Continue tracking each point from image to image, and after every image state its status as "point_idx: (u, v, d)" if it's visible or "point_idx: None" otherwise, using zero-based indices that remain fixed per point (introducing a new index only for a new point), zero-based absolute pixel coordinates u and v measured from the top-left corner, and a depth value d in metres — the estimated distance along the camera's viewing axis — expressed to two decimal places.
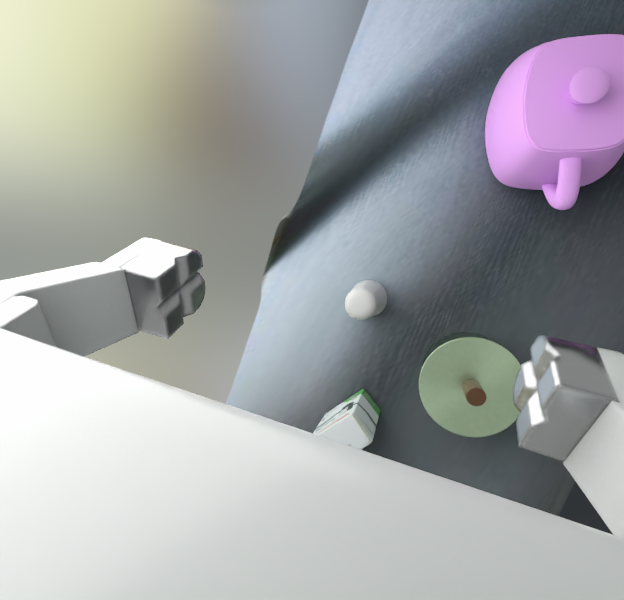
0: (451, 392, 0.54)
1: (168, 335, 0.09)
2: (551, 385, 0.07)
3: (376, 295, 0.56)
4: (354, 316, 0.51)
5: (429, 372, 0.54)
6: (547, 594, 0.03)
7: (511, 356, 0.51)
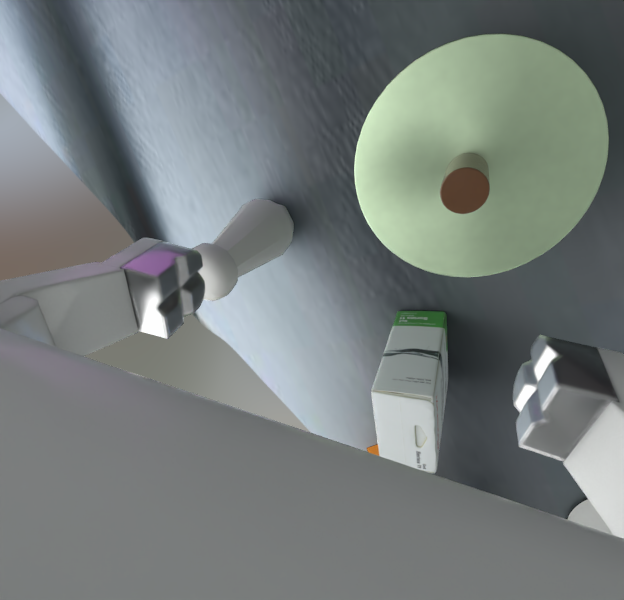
0: (451, 215, 0.25)
1: (168, 335, 0.09)
2: (551, 385, 0.07)
3: (233, 229, 0.32)
4: (216, 297, 0.29)
5: (390, 229, 0.27)
6: (547, 594, 0.03)
7: (453, 47, 0.20)
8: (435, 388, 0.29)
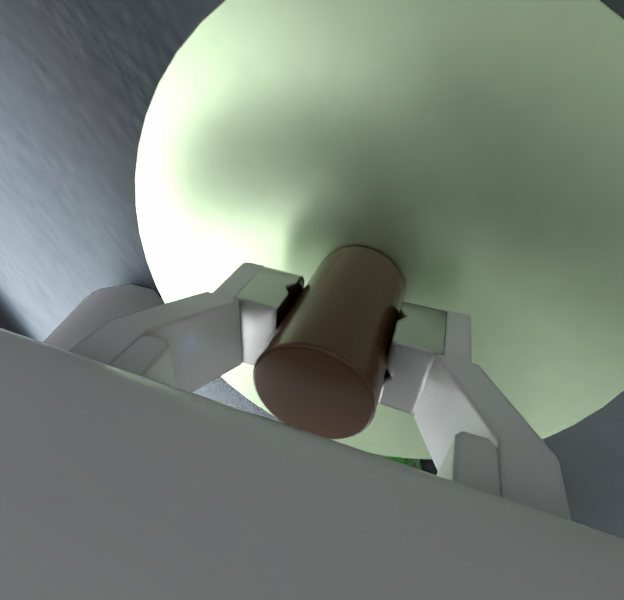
0: None
1: None
2: None
3: None
4: None
5: (251, 378, 0.14)
6: (547, 594, 0.03)
7: (248, 0, 0.08)
8: None
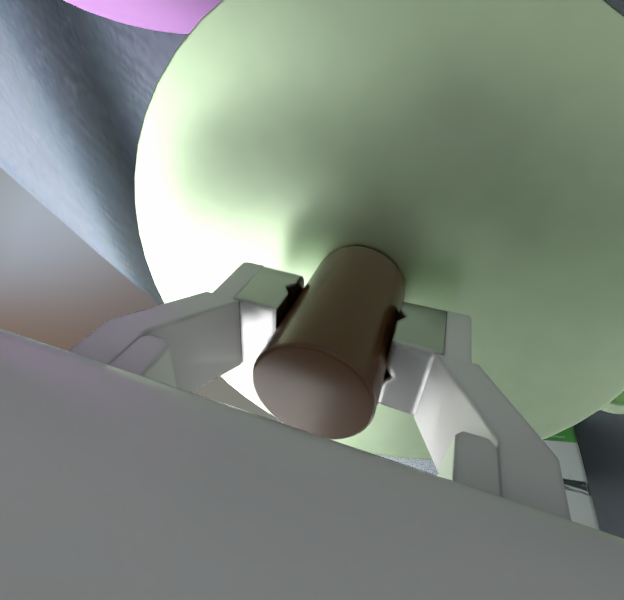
0: None
1: None
2: None
3: None
4: None
5: (251, 378, 0.14)
6: (547, 594, 0.03)
7: None
8: None
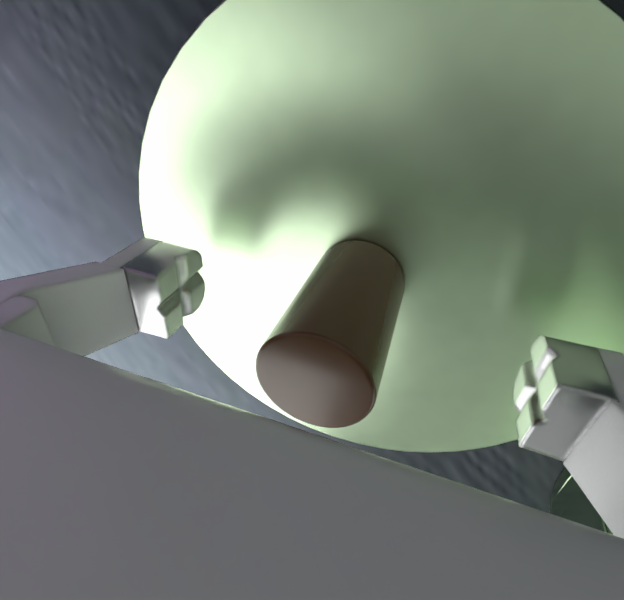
0: None
1: (168, 335, 0.09)
2: (551, 385, 0.07)
3: None
4: None
5: (253, 372, 0.14)
6: (547, 594, 0.03)
7: None
8: None
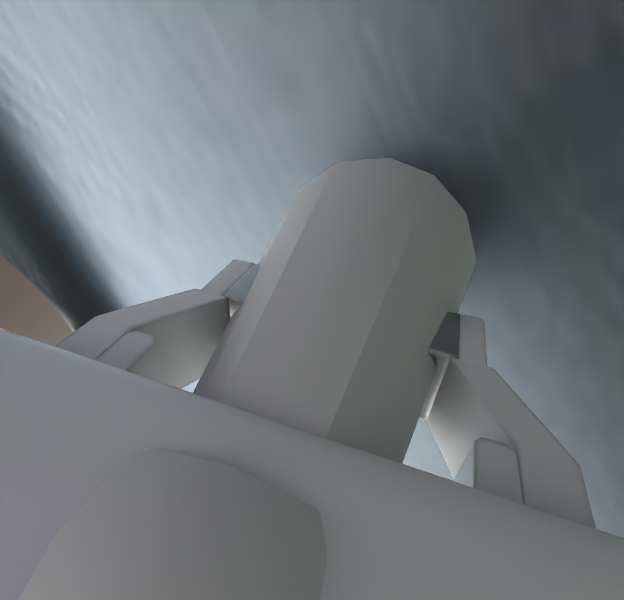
0: None
1: None
2: None
3: (303, 296, 0.06)
4: None
5: None
6: (547, 594, 0.03)
7: None
8: None
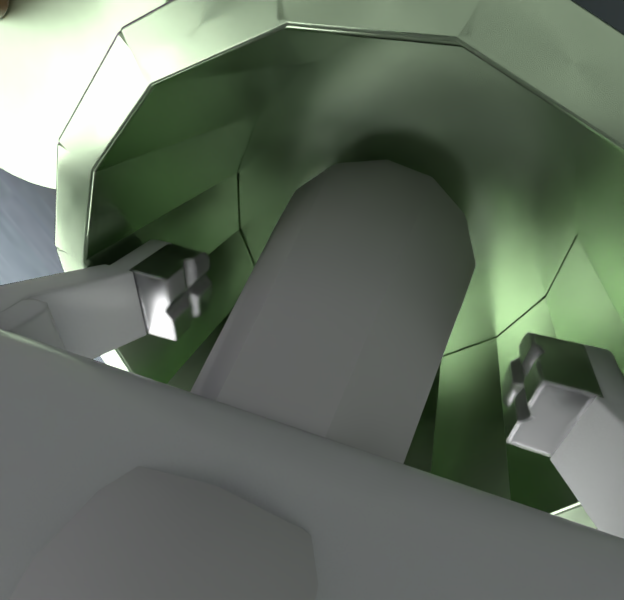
0: (12, 72, 0.14)
1: (176, 338, 0.09)
2: (537, 381, 0.07)
3: (298, 303, 0.06)
4: None
5: None
6: (547, 594, 0.03)
7: None
8: None
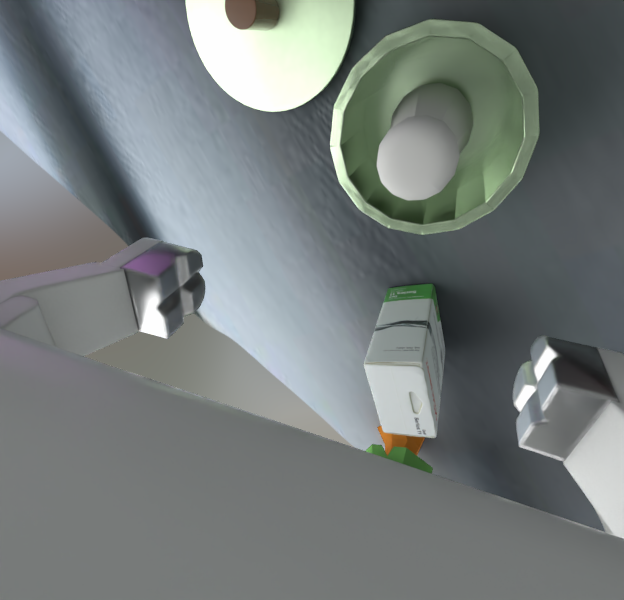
0: (266, 53, 0.31)
1: (168, 335, 0.09)
2: (551, 385, 0.07)
3: (424, 109, 0.23)
4: (435, 189, 0.21)
5: (229, 78, 0.33)
6: (547, 596, 0.03)
7: None
8: (424, 354, 0.30)
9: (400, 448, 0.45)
